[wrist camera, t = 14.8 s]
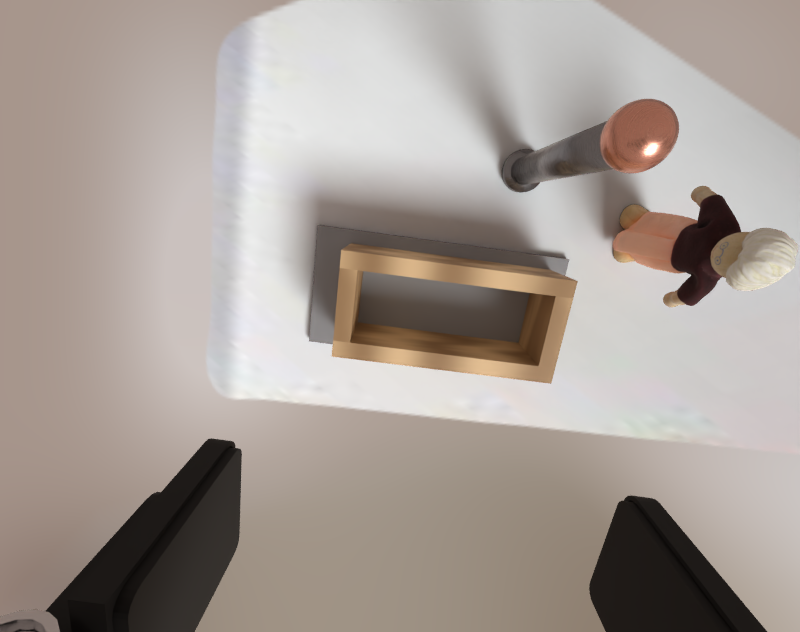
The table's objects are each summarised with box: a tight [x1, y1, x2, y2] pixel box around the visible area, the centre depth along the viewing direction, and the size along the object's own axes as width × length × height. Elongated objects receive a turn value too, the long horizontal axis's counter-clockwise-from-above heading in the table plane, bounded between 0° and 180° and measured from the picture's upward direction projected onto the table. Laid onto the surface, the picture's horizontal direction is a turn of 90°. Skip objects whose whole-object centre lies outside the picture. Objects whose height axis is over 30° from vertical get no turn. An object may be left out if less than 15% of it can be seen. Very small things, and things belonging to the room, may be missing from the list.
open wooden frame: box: [332, 243, 578, 383], centre depth 29 cm, size 16×8×5 cm, turn 83°
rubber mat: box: [309, 225, 569, 344], centre depth 32 cm, size 20×10×1 cm, turn 82°
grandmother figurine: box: [613, 186, 798, 307], centre depth 25 cm, size 8×4×13 cm, turn 6°
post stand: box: [502, 99, 679, 192], centre depth 22 cm, size 3×3×16 cm
